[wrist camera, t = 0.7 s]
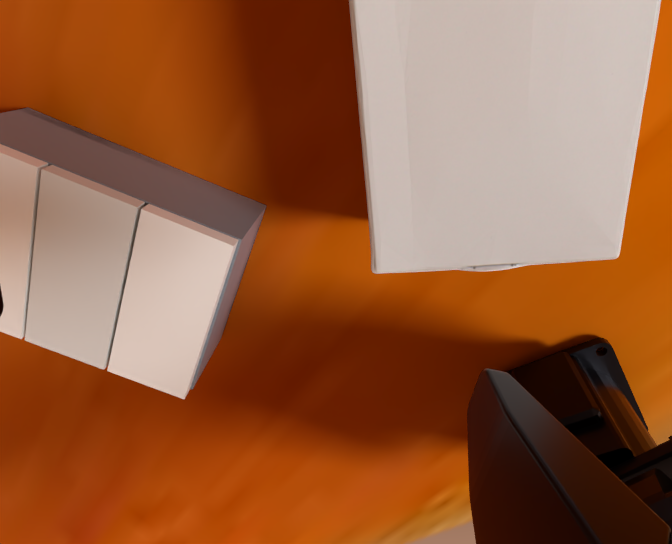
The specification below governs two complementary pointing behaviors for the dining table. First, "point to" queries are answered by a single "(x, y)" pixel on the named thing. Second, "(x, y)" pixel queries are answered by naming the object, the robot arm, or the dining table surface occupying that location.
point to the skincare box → (499, 128)
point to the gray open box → (144, 191)
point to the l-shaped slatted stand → (106, 274)
